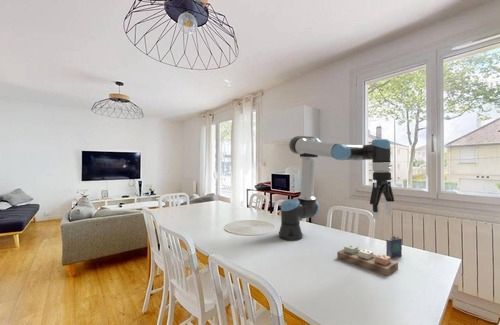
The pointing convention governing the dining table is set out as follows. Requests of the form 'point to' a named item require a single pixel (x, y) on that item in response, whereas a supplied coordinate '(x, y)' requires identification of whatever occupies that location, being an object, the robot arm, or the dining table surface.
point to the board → (368, 263)
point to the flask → (394, 247)
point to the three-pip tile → (383, 259)
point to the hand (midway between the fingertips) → (382, 217)
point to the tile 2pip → (366, 254)
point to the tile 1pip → (350, 249)
